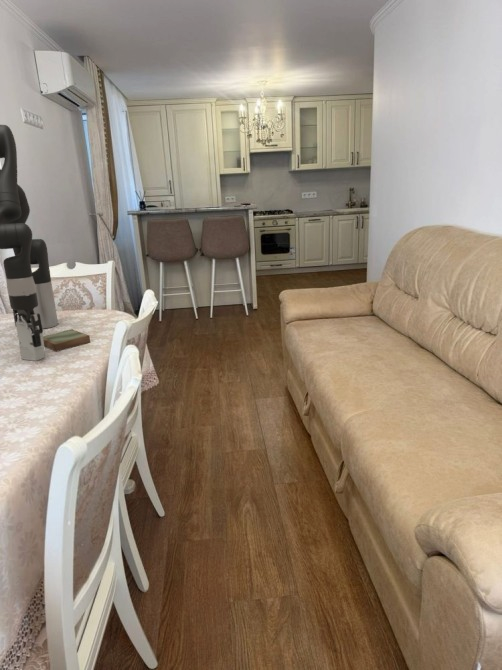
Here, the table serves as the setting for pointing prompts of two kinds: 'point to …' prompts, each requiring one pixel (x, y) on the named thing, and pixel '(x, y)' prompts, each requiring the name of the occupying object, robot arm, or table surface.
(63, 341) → the block
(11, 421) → the table surface
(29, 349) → the skincare box
